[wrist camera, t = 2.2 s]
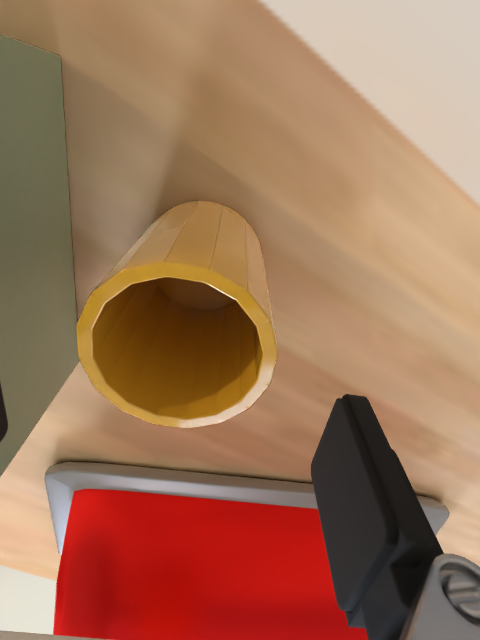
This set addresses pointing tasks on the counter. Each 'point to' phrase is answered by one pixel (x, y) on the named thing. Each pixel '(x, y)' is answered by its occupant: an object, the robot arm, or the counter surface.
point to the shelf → (33, 241)
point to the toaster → (192, 556)
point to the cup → (183, 321)
